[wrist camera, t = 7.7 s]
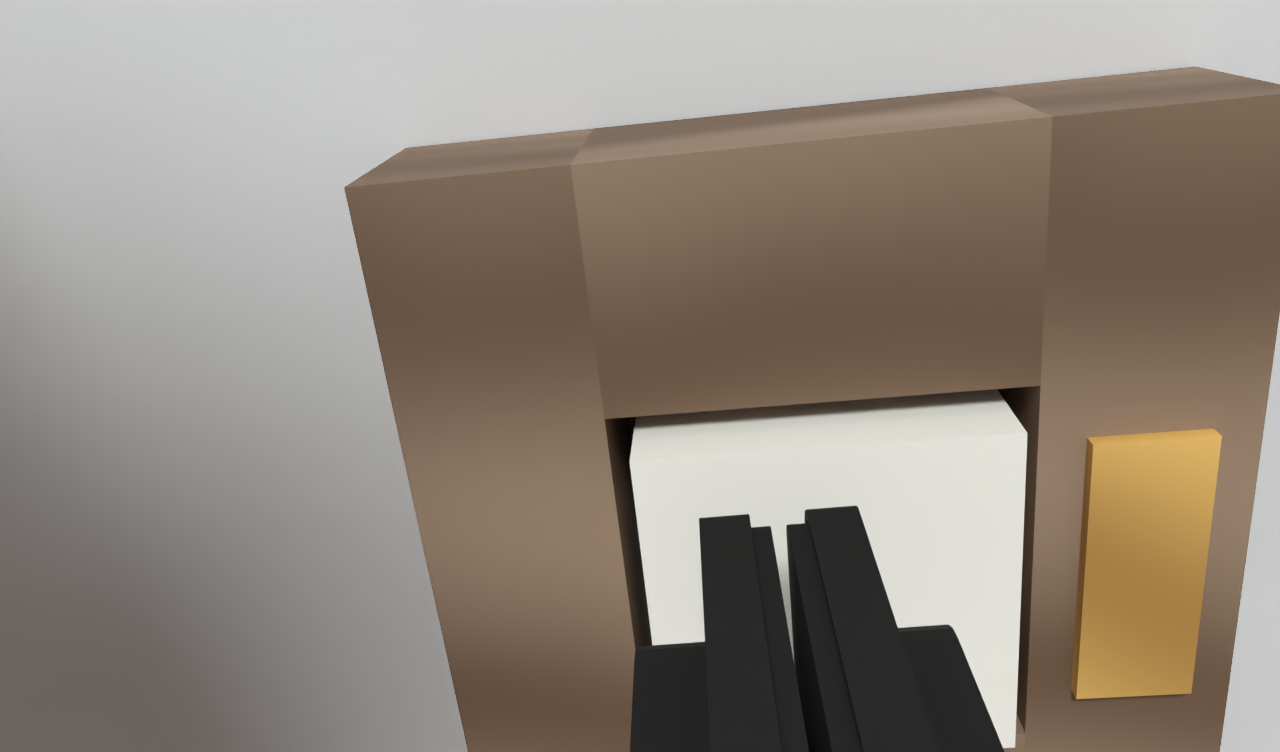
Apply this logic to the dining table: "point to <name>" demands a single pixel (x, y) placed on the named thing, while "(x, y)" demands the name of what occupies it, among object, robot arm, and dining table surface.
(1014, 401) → the button board
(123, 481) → the dining table surface
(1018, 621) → the inner button
